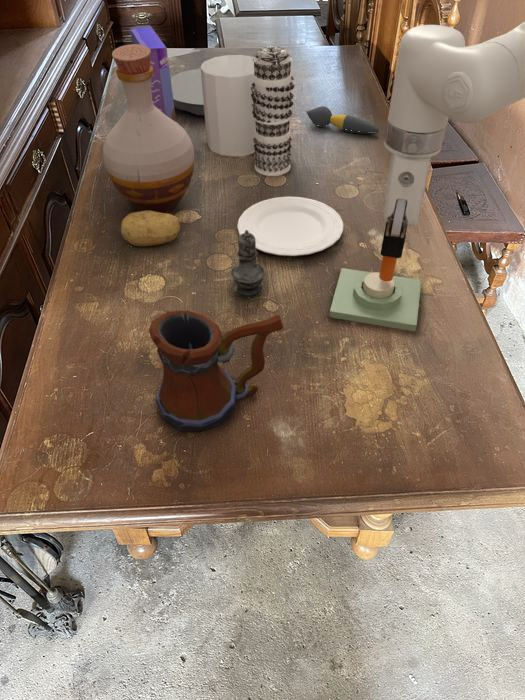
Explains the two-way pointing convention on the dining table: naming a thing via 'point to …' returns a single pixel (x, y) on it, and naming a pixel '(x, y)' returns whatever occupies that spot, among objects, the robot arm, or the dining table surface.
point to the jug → (146, 141)
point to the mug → (203, 367)
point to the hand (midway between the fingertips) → (391, 249)
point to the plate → (291, 226)
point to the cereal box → (157, 68)
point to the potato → (149, 228)
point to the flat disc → (188, 91)
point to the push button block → (376, 302)
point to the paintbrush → (340, 121)
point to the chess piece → (248, 268)
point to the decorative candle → (272, 110)
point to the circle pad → (377, 286)
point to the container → (229, 104)
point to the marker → (387, 267)
